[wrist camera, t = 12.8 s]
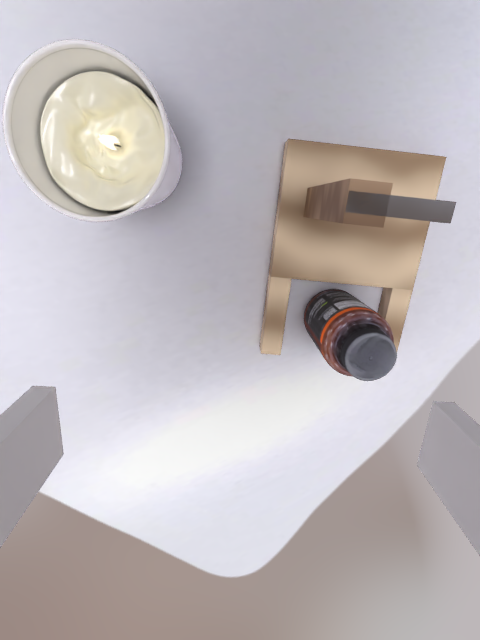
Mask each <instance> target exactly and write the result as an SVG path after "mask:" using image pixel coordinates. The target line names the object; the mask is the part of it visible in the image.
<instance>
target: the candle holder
mask: <svg viewBox="0 0 480 640" xmlns="http://www.w3.org/2000/svg"><path fill="white" fill-rule="evenodd" d="M3 132H4V138H5V142H6V146H7V149H8V152H9V155H10V158H11V160H12V162H13V164H14V166H15V168H16V170H17V172H18V174H19V175H20V177H21V178H22V180H23V181H24V182H25V184H26V185H27V186H28V187H29V189H30V190H31V191H32V192H33V193H34V194H35V195H36V196H37V197H38V198H39V199H41V200H42V201H43V202H44V203H46V204H47V205H48V206H50V207H51V208H53V209H54V210H56V211H58V212H60V213H62V214H64V215H66V216H69V217H72V218H75V219H79V220H83V221H90V222H106V221H113V220H117V219H120V218H123V217H126V216H128V215H130V214H132V213H135V212H138V211H141V210H144V209H147V208H150V207H153V206H155V205H157V204H159V203H161V202H163V201H164V200H165V199H167V198H168V197H169V196H170V195H171V193H172V192H173V191H174V189H175V188H176V186H177V184H178V182H179V179H180V176H181V172H182V153H181V148H180V145H179V142H178V139H177V137H176V134H175V132H174V130H173V128H172V126H171V124H170V121H169V119H168V117H167V115H166V112H165V109H164V106H163V104H162V101H161V99H160V97H159V95H158V93H157V91H156V90H155V88H154V86H153V85H152V83H151V82H150V80H149V79H148V78H147V76H146V75H145V74H144V73H143V72H142V71H141V70H140V69H139V68H138V67H137V66H136V65H135V64H134V63H133V62H132V61H131V60H130V59H128V58H127V57H126V56H124V55H123V54H121V53H120V52H118V51H116V50H114V49H112V48H110V47H108V46H106V45H103V44H100V43H97V42H93V41H89V40H81V39H69V40H61V41H57V42H53V43H50V44H48V45H46V46H43V47H42V48H40V49H38V50H36V51H35V52H34V53H32V54H31V55H30V56H29V57H27V58H26V59H25V60H24V61H23V63H22V64H21V65H20V66H19V67H18V69H17V70H16V72H15V73H14V75H13V77H12V79H11V81H10V83H9V86H8V88H7V91H6V95H5V99H4V105H3Z"/></svg>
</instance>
